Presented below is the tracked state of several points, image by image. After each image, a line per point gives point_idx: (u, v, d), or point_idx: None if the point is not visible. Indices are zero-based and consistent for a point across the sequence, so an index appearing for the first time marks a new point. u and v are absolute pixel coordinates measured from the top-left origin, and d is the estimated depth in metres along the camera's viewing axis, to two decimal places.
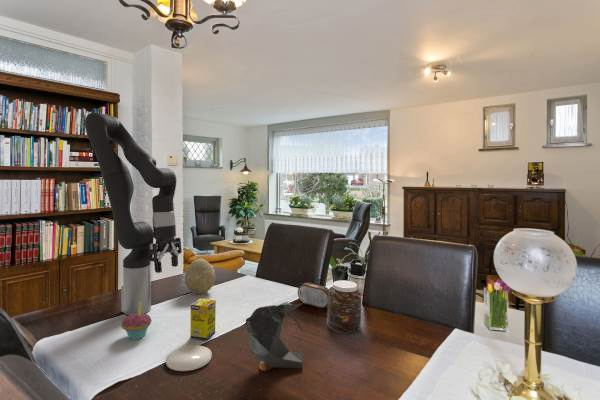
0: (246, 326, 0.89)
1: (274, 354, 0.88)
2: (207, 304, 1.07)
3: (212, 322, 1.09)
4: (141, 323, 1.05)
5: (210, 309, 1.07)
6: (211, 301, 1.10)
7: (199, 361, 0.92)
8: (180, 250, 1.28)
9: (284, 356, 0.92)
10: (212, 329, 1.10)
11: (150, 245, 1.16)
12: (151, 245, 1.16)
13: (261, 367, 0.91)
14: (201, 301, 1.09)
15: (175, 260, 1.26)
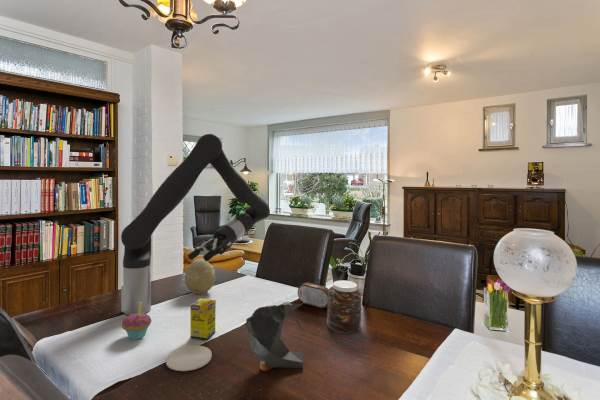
0: (247, 326, 0.89)
1: (274, 354, 0.88)
2: (207, 304, 1.07)
3: (212, 322, 1.09)
4: (141, 323, 1.05)
5: (210, 309, 1.07)
6: (211, 301, 1.10)
7: (199, 361, 0.92)
8: None
9: (284, 356, 0.92)
10: (212, 329, 1.10)
11: (229, 241, 1.17)
12: (230, 242, 1.17)
13: (261, 367, 0.91)
14: (201, 301, 1.09)
15: (195, 255, 1.18)
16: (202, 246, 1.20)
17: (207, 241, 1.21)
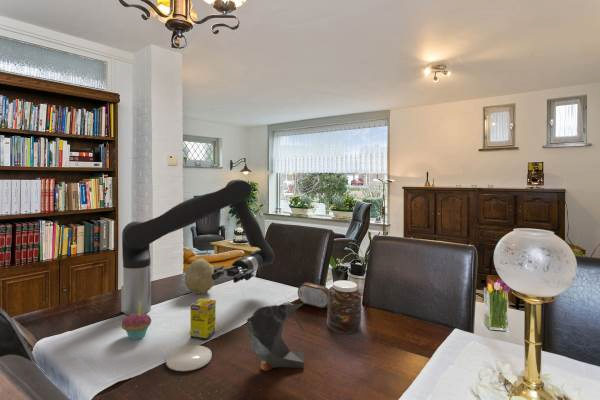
0: (247, 326, 0.89)
1: (275, 354, 0.89)
2: (207, 304, 1.07)
3: (212, 322, 1.09)
4: (141, 323, 1.05)
5: (210, 309, 1.07)
6: (211, 301, 1.10)
7: (199, 361, 0.92)
8: None
9: (285, 356, 0.92)
10: (212, 329, 1.10)
11: (253, 271, 1.27)
12: (253, 272, 1.27)
13: (262, 367, 0.91)
14: (201, 301, 1.09)
15: (217, 277, 1.23)
16: (224, 270, 1.26)
17: (228, 267, 1.28)
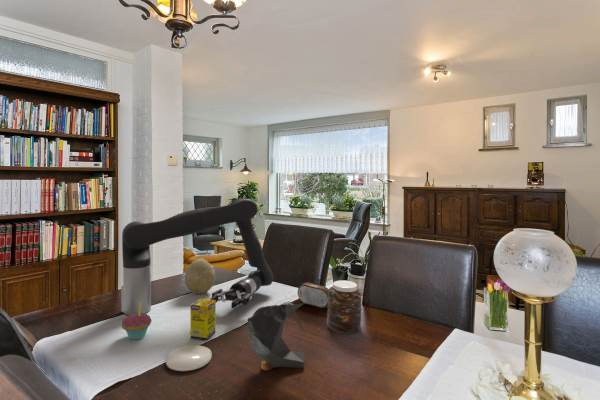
0: (248, 326, 0.89)
1: (275, 354, 0.89)
2: (207, 304, 1.07)
3: (212, 322, 1.09)
4: (141, 323, 1.05)
5: (210, 309, 1.07)
6: (211, 301, 1.10)
7: (199, 361, 0.92)
8: None
9: (285, 356, 0.92)
10: (212, 329, 1.10)
11: (251, 295, 1.27)
12: (251, 296, 1.27)
13: (263, 367, 0.91)
14: (201, 301, 1.09)
15: None
16: (222, 294, 1.26)
17: (227, 291, 1.28)
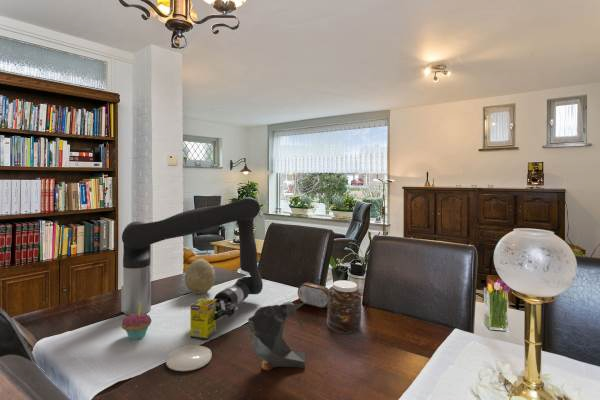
0: (249, 326, 0.89)
1: (276, 354, 0.89)
2: (207, 304, 1.07)
3: (212, 322, 1.09)
4: (141, 323, 1.05)
5: (210, 309, 1.07)
6: (211, 301, 1.10)
7: (199, 361, 0.92)
8: None
9: (286, 356, 0.92)
10: (212, 329, 1.10)
11: (237, 306, 1.16)
12: (237, 307, 1.17)
13: (263, 366, 0.91)
14: (201, 301, 1.09)
15: None
16: None
17: None
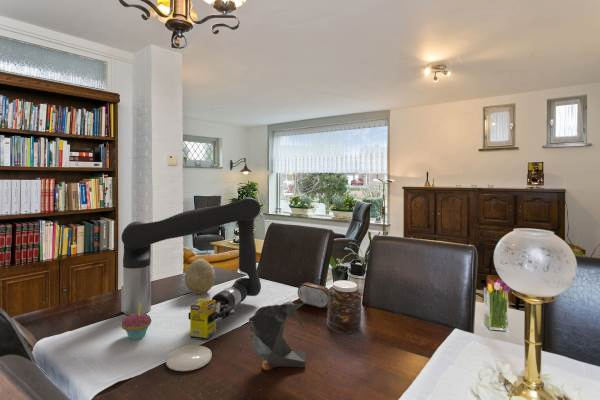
0: (249, 325, 0.89)
1: (277, 353, 0.89)
2: (207, 304, 1.07)
3: (211, 322, 1.09)
4: (141, 323, 1.05)
5: (209, 309, 1.07)
6: (211, 301, 1.10)
7: (199, 361, 0.92)
8: None
9: (286, 356, 0.92)
10: (212, 329, 1.10)
11: (233, 308, 1.14)
12: (233, 310, 1.14)
13: (264, 366, 0.91)
14: (201, 301, 1.09)
15: None
16: None
17: None
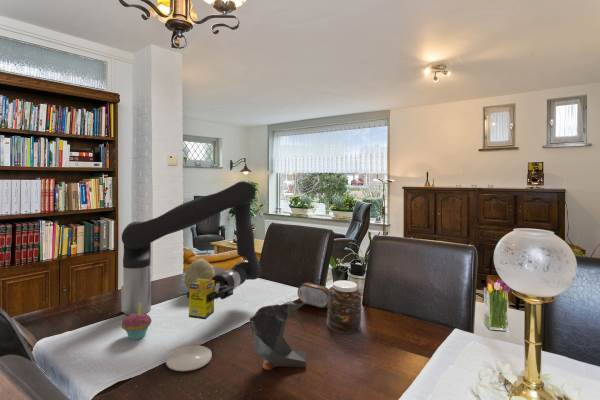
0: (250, 325, 0.89)
1: (277, 353, 0.89)
2: (206, 283, 1.07)
3: (210, 301, 1.08)
4: (141, 323, 1.05)
5: (209, 288, 1.07)
6: (210, 281, 1.09)
7: (199, 361, 0.92)
8: None
9: (287, 355, 0.92)
10: (211, 309, 1.09)
11: (232, 289, 1.13)
12: (232, 290, 1.13)
13: (265, 366, 0.91)
14: (200, 281, 1.09)
15: None
16: None
17: None
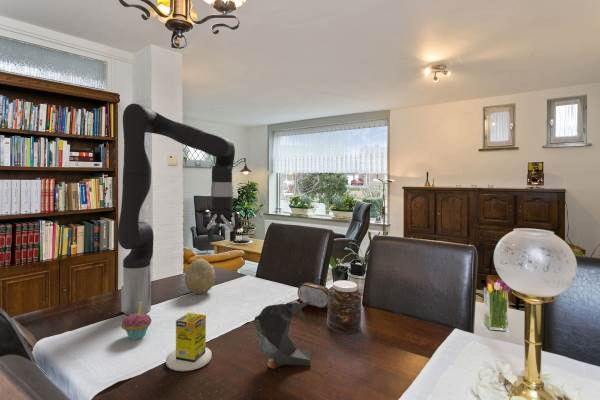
0: (255, 324, 0.90)
1: (282, 352, 0.90)
2: (195, 320, 0.92)
3: (200, 340, 0.94)
4: (141, 323, 1.05)
5: (198, 326, 0.92)
6: (200, 316, 0.95)
7: (199, 361, 0.92)
8: None
9: (292, 354, 0.93)
10: (202, 348, 0.95)
11: (238, 214, 1.18)
12: (238, 214, 1.19)
13: (270, 365, 0.92)
14: (189, 316, 0.94)
15: (213, 233, 1.23)
16: (212, 224, 1.21)
17: (213, 218, 1.20)
